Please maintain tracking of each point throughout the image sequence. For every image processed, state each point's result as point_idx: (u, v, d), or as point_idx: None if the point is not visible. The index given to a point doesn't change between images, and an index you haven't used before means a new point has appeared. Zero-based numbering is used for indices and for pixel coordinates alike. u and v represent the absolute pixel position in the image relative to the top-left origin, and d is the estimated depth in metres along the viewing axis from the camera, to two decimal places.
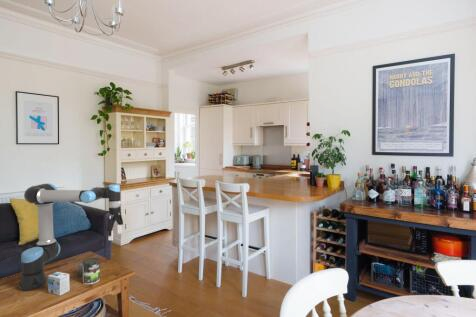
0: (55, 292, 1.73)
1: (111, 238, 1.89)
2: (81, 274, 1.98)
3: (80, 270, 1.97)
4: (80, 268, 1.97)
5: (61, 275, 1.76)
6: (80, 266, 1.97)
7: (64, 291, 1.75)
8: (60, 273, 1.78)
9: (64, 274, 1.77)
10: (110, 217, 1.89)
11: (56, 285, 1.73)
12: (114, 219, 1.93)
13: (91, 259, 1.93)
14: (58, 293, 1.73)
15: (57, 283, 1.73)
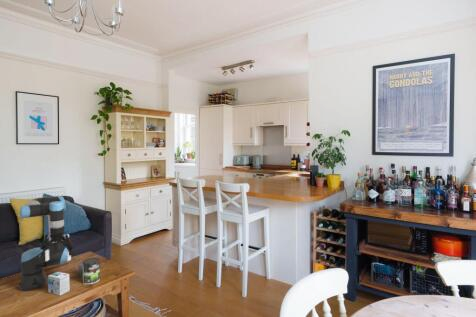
0: (55, 292, 1.73)
1: None
2: (81, 274, 1.98)
3: (80, 270, 1.97)
4: (80, 268, 1.97)
5: (61, 275, 1.76)
6: (80, 266, 1.97)
7: (64, 291, 1.75)
8: (60, 273, 1.78)
9: (64, 274, 1.77)
10: None
11: (56, 285, 1.73)
12: (50, 240, 1.74)
13: (91, 259, 1.93)
14: (58, 293, 1.73)
15: (57, 283, 1.73)
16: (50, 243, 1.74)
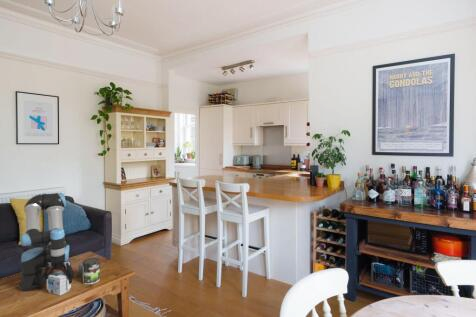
0: (55, 292, 1.73)
1: None
2: (81, 274, 1.98)
3: (80, 270, 1.97)
4: (80, 268, 1.97)
5: (61, 275, 1.76)
6: (80, 266, 1.97)
7: (64, 291, 1.75)
8: (60, 273, 1.78)
9: (64, 274, 1.77)
10: None
11: (56, 285, 1.73)
12: (51, 268, 1.75)
13: (91, 259, 1.93)
14: (58, 293, 1.73)
15: (57, 283, 1.73)
16: (51, 271, 1.75)
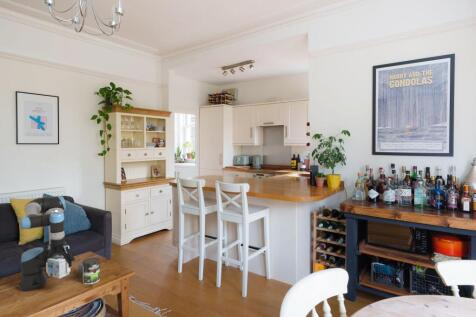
0: (54, 275, 1.73)
1: None
2: (81, 274, 1.98)
3: (80, 270, 1.97)
4: (80, 268, 1.97)
5: (60, 258, 1.76)
6: (80, 266, 1.97)
7: (64, 274, 1.75)
8: (59, 257, 1.78)
9: (63, 258, 1.77)
10: None
11: (56, 269, 1.73)
12: (51, 251, 1.75)
13: (91, 259, 1.93)
14: (58, 276, 1.72)
15: (57, 266, 1.72)
16: (51, 254, 1.75)
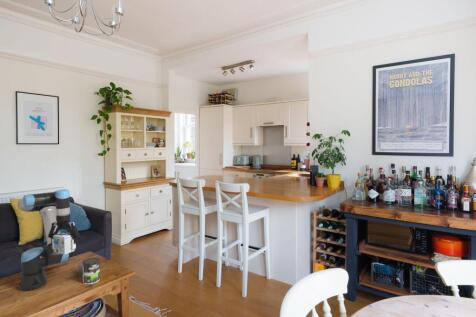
0: (60, 251, 1.74)
1: None
2: (81, 274, 1.98)
3: (80, 270, 1.97)
4: (80, 268, 1.97)
5: (65, 235, 1.77)
6: (80, 266, 1.97)
7: (69, 251, 1.76)
8: (65, 233, 1.79)
9: (69, 234, 1.78)
10: None
11: (61, 244, 1.74)
12: (57, 227, 1.76)
13: (91, 259, 1.93)
14: (63, 252, 1.74)
15: (62, 242, 1.74)
16: (57, 231, 1.77)
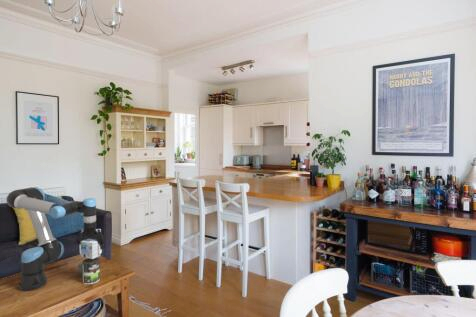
0: (88, 256, 1.86)
1: None
2: (81, 274, 1.98)
3: (80, 270, 1.97)
4: (80, 268, 1.97)
5: (92, 241, 1.89)
6: (80, 266, 1.97)
7: (96, 255, 1.88)
8: (91, 239, 1.91)
9: (95, 240, 1.90)
10: None
11: (89, 250, 1.86)
12: (84, 234, 1.88)
13: (91, 259, 1.93)
14: (91, 257, 1.86)
15: (90, 247, 1.86)
16: (84, 237, 1.88)
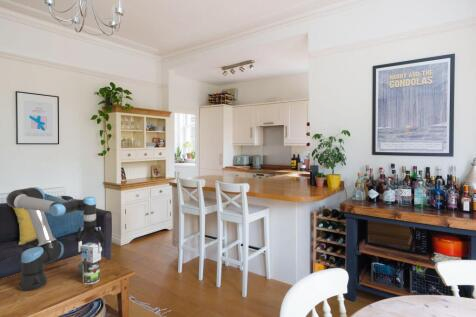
0: (88, 260, 1.87)
1: None
2: (81, 274, 1.98)
3: (80, 270, 1.97)
4: (80, 268, 1.97)
5: (93, 245, 1.89)
6: (80, 266, 1.97)
7: (96, 259, 1.88)
8: (92, 243, 1.92)
9: (96, 244, 1.90)
10: None
11: (90, 254, 1.86)
12: (84, 232, 1.88)
13: None
14: (91, 261, 1.86)
15: (90, 251, 1.86)
16: (83, 235, 1.88)
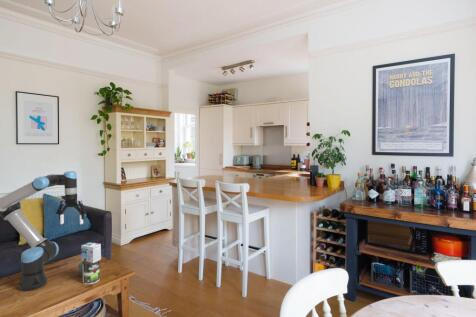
0: (88, 260, 1.87)
1: None
2: (81, 274, 1.98)
3: (80, 270, 1.97)
4: (80, 268, 1.97)
5: (93, 245, 1.89)
6: (80, 266, 1.97)
7: (96, 259, 1.88)
8: (92, 243, 1.92)
9: (96, 244, 1.90)
10: None
11: (90, 254, 1.86)
12: (65, 205, 1.95)
13: None
14: (91, 261, 1.86)
15: (90, 251, 1.86)
16: (65, 208, 1.96)
